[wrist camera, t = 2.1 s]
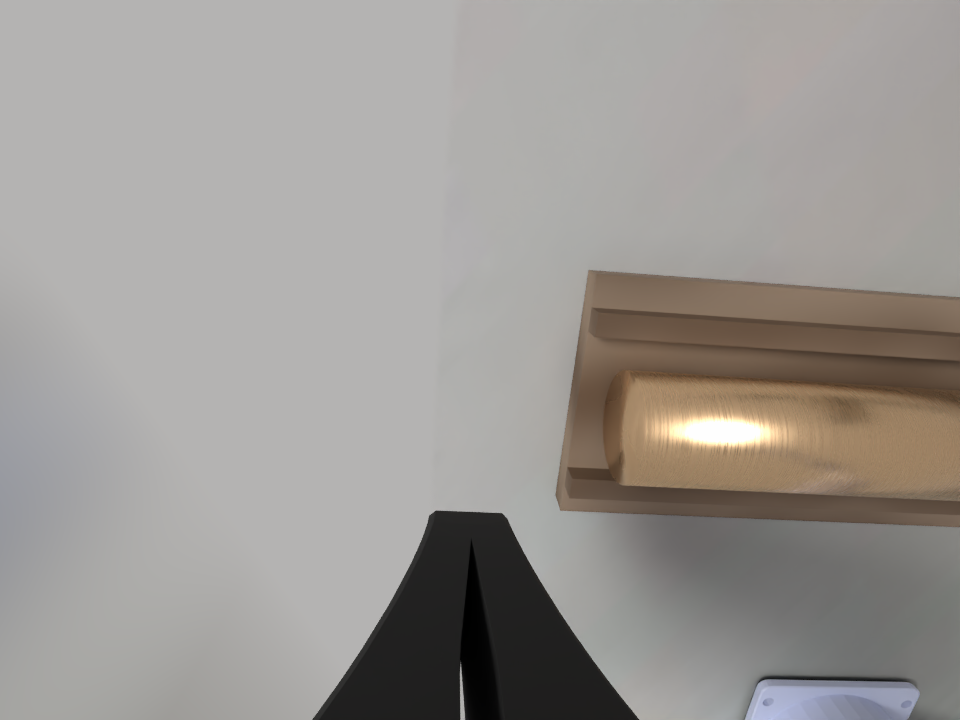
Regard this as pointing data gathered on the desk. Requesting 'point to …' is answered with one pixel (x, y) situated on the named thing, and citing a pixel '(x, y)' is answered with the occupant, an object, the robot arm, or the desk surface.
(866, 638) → the desk surface
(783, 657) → the desk surface
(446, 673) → the robot arm
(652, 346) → the board
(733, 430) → the thermos bottle
